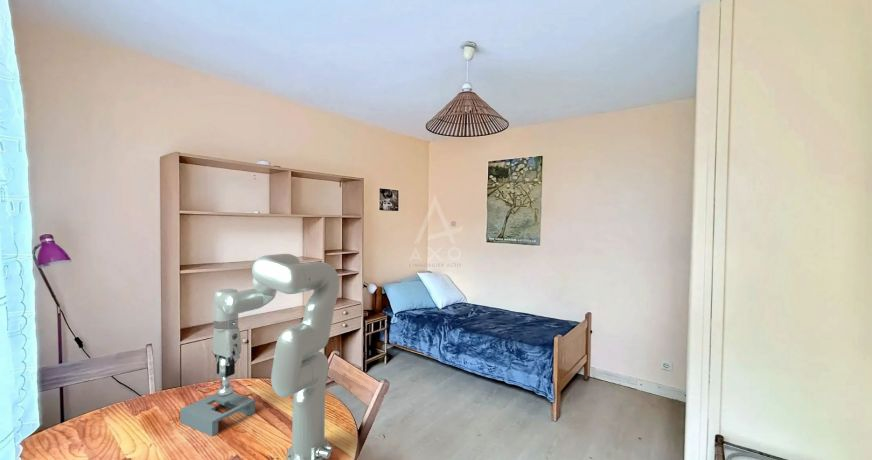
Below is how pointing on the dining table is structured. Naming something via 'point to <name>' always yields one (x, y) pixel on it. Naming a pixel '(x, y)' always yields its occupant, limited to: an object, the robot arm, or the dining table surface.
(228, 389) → the steel peg
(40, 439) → the dining table surface
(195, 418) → the keyhole plate
